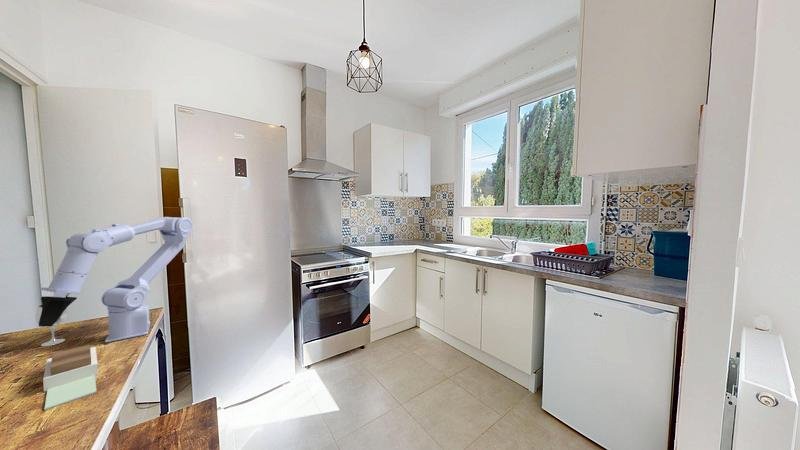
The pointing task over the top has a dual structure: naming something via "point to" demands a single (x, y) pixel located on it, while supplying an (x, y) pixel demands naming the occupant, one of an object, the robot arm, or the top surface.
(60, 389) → the mat
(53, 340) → the wineglass
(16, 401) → the top surface
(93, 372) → the tray
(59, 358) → the tan cardboard slab
